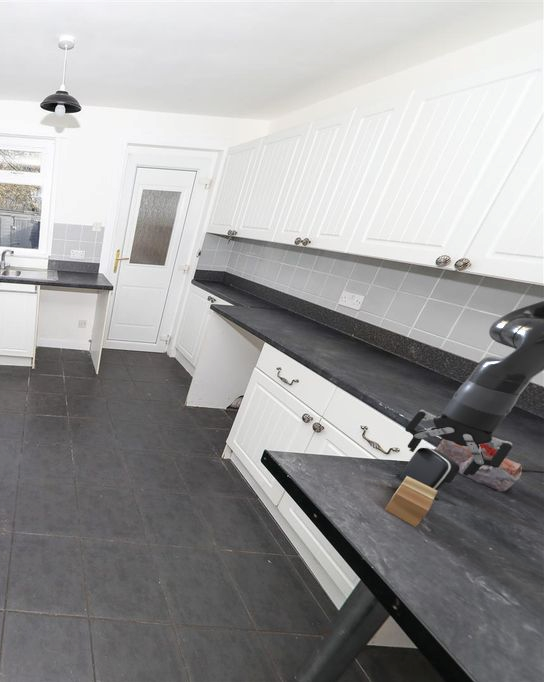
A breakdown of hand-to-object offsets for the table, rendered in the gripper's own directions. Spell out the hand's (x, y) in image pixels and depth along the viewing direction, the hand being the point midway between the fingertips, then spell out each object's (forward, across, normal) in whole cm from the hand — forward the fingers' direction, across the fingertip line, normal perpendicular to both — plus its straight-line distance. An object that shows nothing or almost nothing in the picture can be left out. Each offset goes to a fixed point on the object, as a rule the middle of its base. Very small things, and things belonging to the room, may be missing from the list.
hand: (437, 461), depth 78 cm
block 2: (+9, 0, +14) cm, 16 cm away
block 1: (+9, 0, +8) cm, 12 cm away
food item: (+10, -6, -23) cm, 25 cm away
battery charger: (+10, 0, 0) cm, 10 cm away
